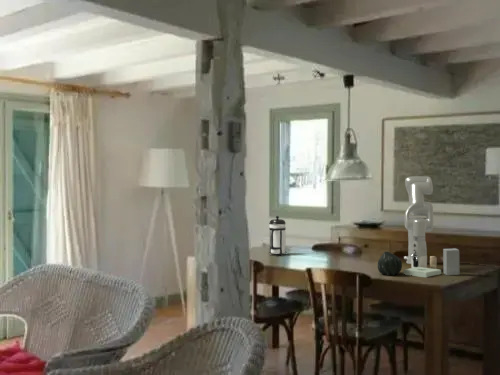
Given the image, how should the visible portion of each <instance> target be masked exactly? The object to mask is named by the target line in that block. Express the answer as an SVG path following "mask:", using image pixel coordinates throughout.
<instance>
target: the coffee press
mask: <svg viewBox="0 0 500 375" xmlns="http://www.w3.org/2000/svg"><path fill="white" fill-rule="evenodd" d="M268 224H269V252H268V254H269V253H270V254H271V253H272V254H271V255H279V256H280V255H282V256H283V254H284V253H285V254H286V253H287V251H286V229H287V228H286V224H287V222H286V221H285V220H284V219H280V217H279V215H276V217H275V218H274V219H271V220H270V221H269V223H268Z"/></svg>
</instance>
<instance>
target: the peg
mask: <svg viewBox="0 0 500 375" xmlns="http://www.w3.org/2000/svg"><path fill="white" fill-rule="evenodd" d="M437 259H438V258H437V256H436V255H430V256H429V268H431V269H438V268H437V267H438V266H437V264H438V263H437V261H438V260H437Z"/></svg>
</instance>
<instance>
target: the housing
mask: <svg viewBox="0 0 500 375" xmlns="http://www.w3.org/2000/svg"><path fill="white" fill-rule="evenodd" d="M415 258H416V257H415ZM417 261H418V267H423V268H428V255H426V256H420V257H418V260H417ZM410 266H411V268H415V267H413V259H412V257H411V264H410Z"/></svg>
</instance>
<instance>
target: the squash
mask: <svg viewBox="0 0 500 375" xmlns="http://www.w3.org/2000/svg"><path fill="white" fill-rule="evenodd" d="M402 267H403V263H402V260H401V258H400V257H399V256H397V255H396V254H394V253H391V252H389V251H384V252H383V253H382V255H381V256H380V258H379V259H378V261H377V270H378V272H379V273H380V274H382V275H384V276H395V275H396V274H397V275H398V274H399V273H400V272H401V270H402V269H403V268H402Z"/></svg>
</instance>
